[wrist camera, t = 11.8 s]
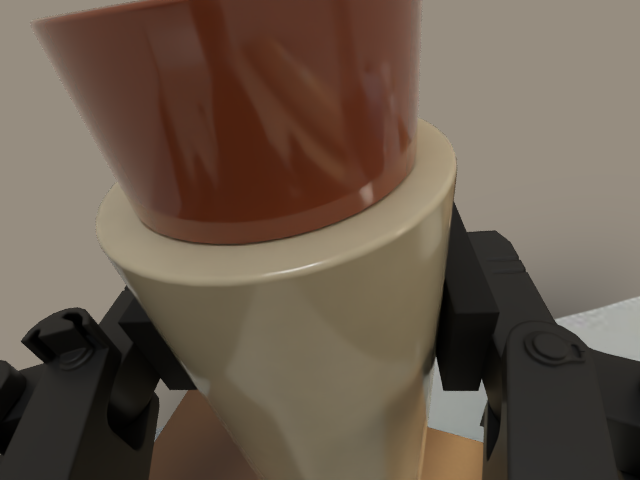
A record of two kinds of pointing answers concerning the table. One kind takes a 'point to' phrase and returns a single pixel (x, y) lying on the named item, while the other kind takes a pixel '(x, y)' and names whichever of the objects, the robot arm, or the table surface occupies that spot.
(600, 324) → the table surface
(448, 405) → the table surface
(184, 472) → the shelf
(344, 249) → the spice bottle
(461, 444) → the cork mat
